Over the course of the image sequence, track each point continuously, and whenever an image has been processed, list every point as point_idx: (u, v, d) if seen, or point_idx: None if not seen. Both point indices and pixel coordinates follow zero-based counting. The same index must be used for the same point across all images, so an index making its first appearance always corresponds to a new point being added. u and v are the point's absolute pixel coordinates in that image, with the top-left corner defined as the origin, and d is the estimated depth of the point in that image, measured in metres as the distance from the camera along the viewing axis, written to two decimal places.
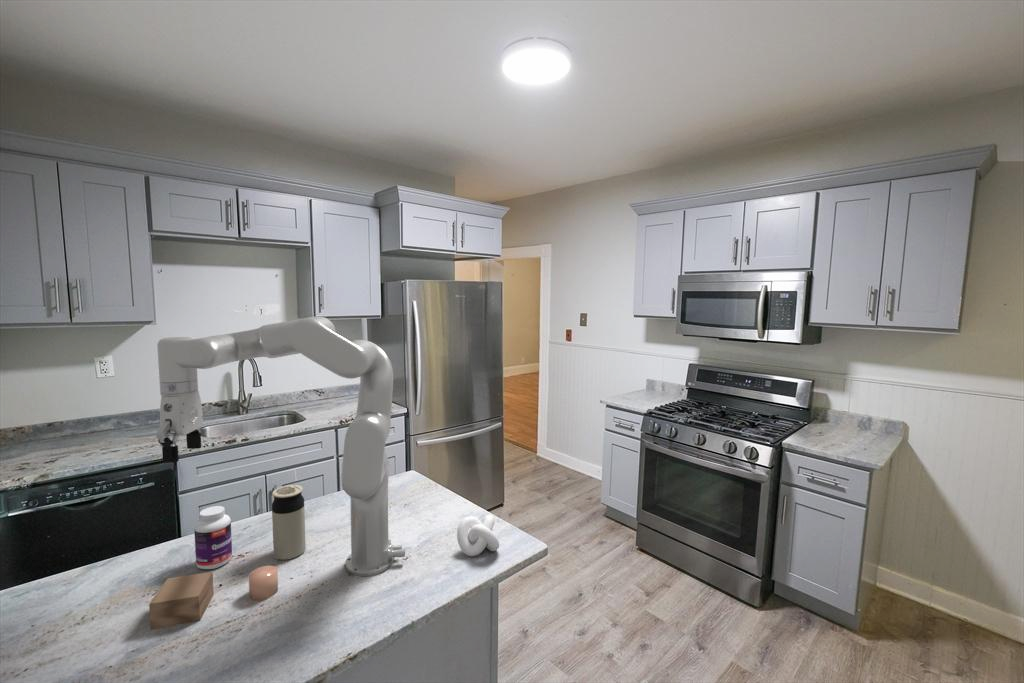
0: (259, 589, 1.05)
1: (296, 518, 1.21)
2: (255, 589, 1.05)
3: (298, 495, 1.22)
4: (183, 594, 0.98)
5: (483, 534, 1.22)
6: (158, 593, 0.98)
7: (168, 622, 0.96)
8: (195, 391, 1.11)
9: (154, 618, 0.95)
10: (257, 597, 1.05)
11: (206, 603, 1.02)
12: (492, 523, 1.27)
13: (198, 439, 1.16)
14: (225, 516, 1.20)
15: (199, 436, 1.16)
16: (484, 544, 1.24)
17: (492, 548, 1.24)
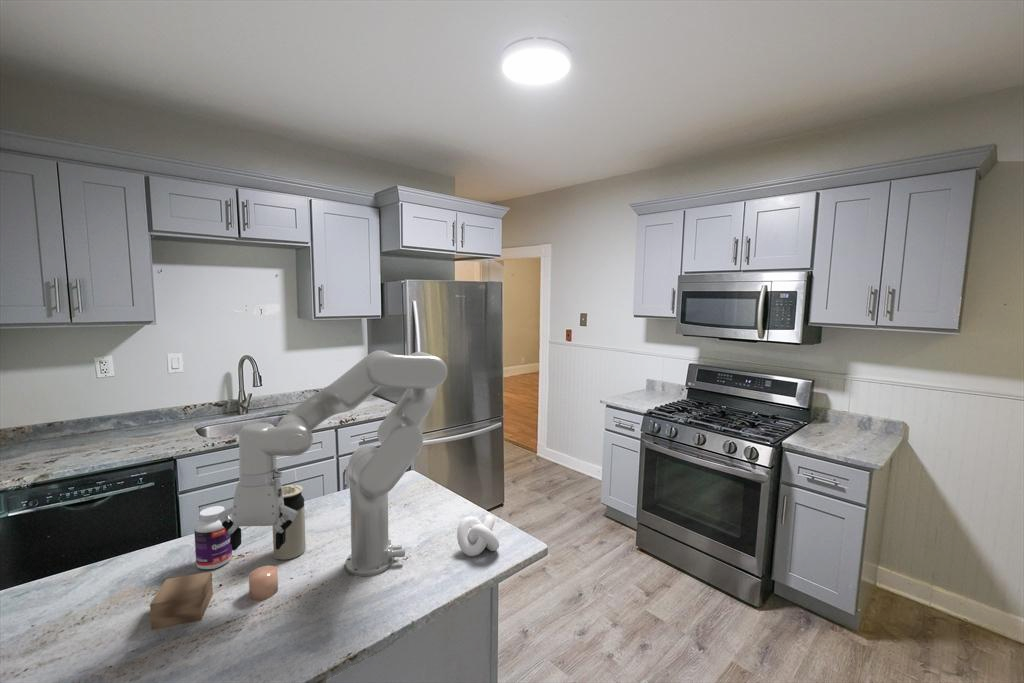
0: (259, 589, 1.05)
1: (296, 518, 1.21)
2: (255, 589, 1.05)
3: (298, 495, 1.22)
4: (184, 593, 0.98)
5: (483, 534, 1.22)
6: (158, 593, 0.98)
7: (169, 622, 0.96)
8: None
9: (155, 618, 0.95)
10: (257, 597, 1.05)
11: (207, 603, 1.02)
12: (492, 523, 1.27)
13: (240, 534, 1.07)
14: None
15: None
16: (484, 544, 1.24)
17: (492, 548, 1.24)
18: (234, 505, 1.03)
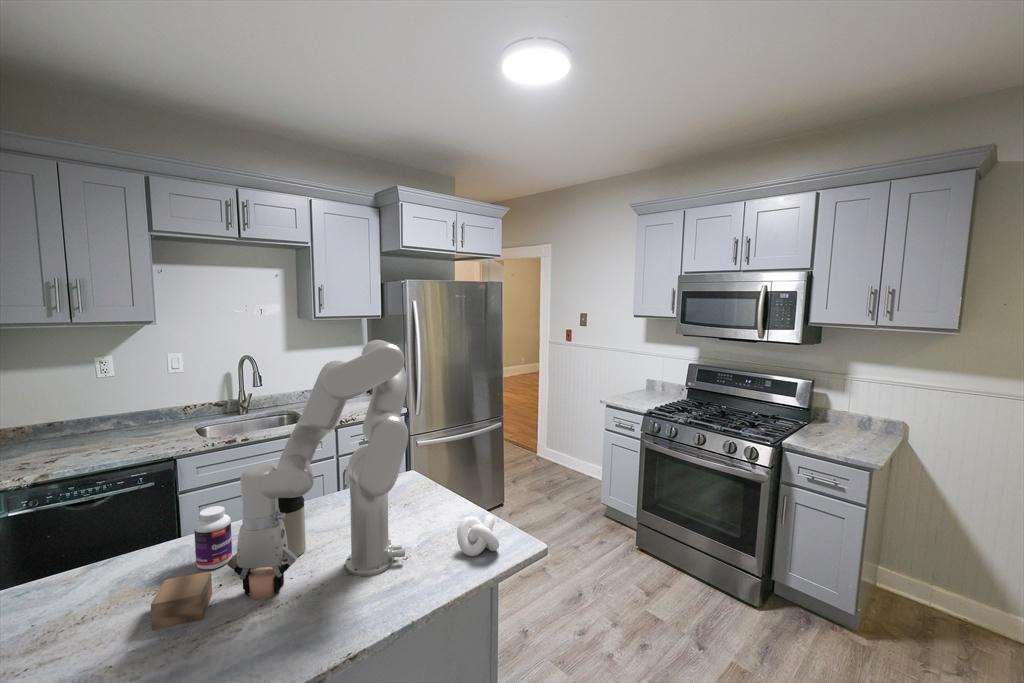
0: (259, 589, 1.05)
1: (296, 518, 1.21)
2: (255, 589, 1.05)
3: None
4: (185, 593, 0.98)
5: (483, 534, 1.22)
6: (158, 594, 0.98)
7: (170, 622, 0.96)
8: None
9: (156, 619, 0.95)
10: (257, 597, 1.05)
11: (207, 602, 1.03)
12: (492, 523, 1.27)
13: None
14: (225, 516, 1.20)
15: None
16: (484, 544, 1.24)
17: (492, 548, 1.24)
18: (238, 548, 1.04)
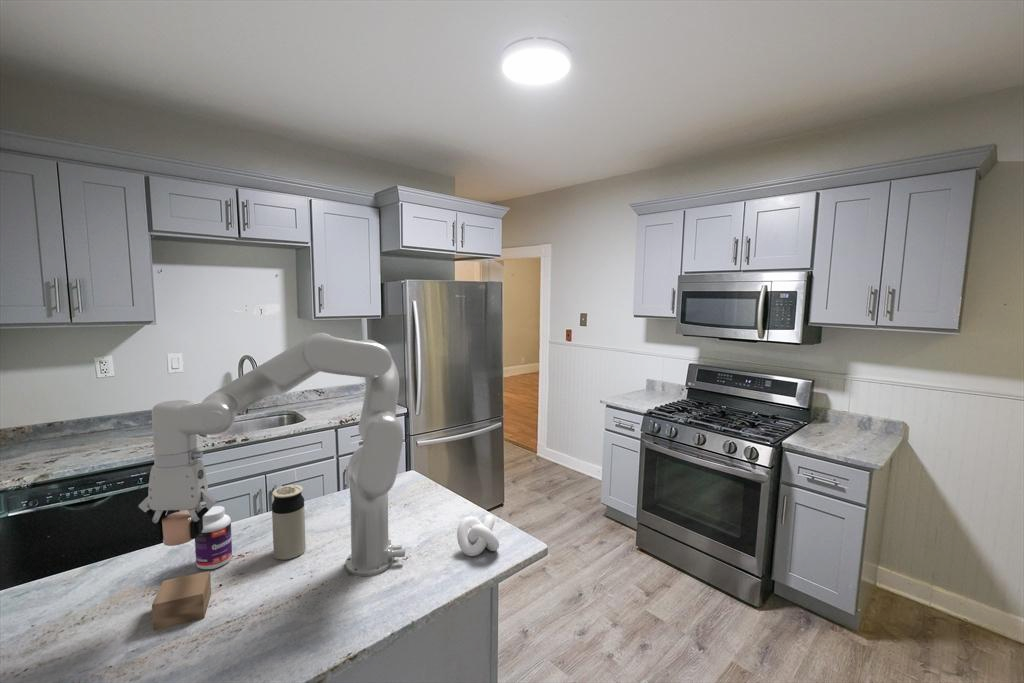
0: (173, 533, 0.96)
1: (296, 518, 1.21)
2: (168, 532, 0.96)
3: (298, 495, 1.22)
4: (186, 593, 0.98)
5: (483, 534, 1.22)
6: (158, 594, 0.98)
7: (171, 622, 0.96)
8: None
9: (157, 619, 0.95)
10: (170, 542, 0.96)
11: (207, 601, 1.03)
12: (492, 523, 1.27)
13: None
14: (225, 516, 1.20)
15: None
16: (484, 544, 1.24)
17: (492, 548, 1.24)
18: (149, 488, 0.96)
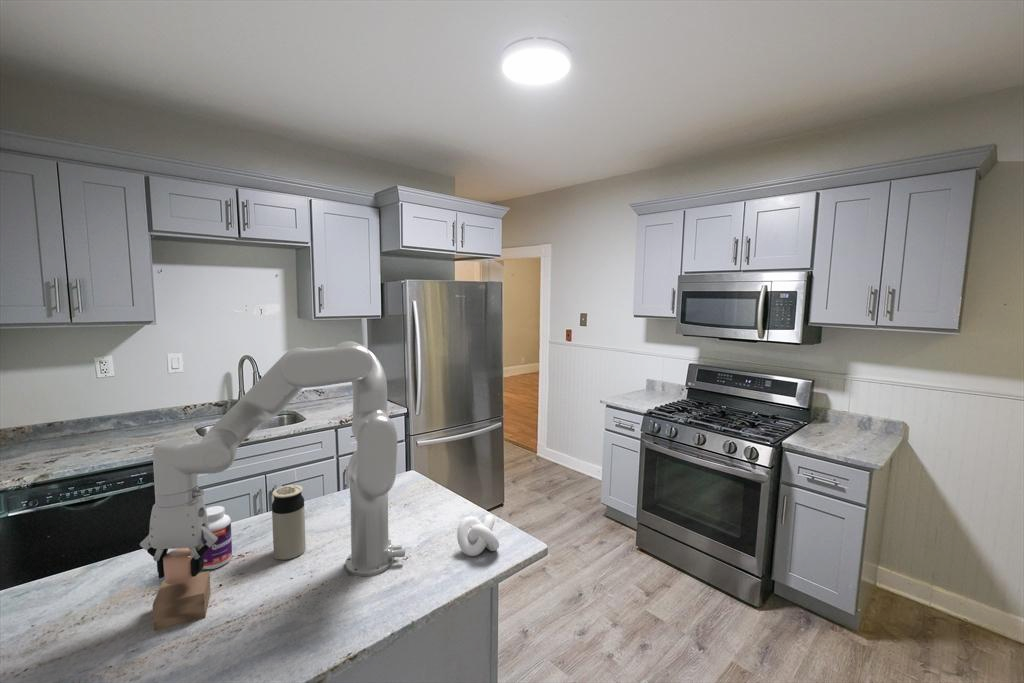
0: (173, 571, 0.97)
1: (296, 518, 1.21)
2: (169, 571, 0.97)
3: (298, 495, 1.22)
4: (186, 592, 0.99)
5: (483, 534, 1.22)
6: (158, 595, 0.98)
7: (172, 622, 0.96)
8: None
9: (157, 619, 0.95)
10: (171, 580, 0.97)
11: (207, 601, 1.03)
12: (492, 523, 1.27)
13: None
14: (225, 516, 1.20)
15: None
16: (484, 544, 1.24)
17: (492, 548, 1.24)
18: (150, 527, 0.96)
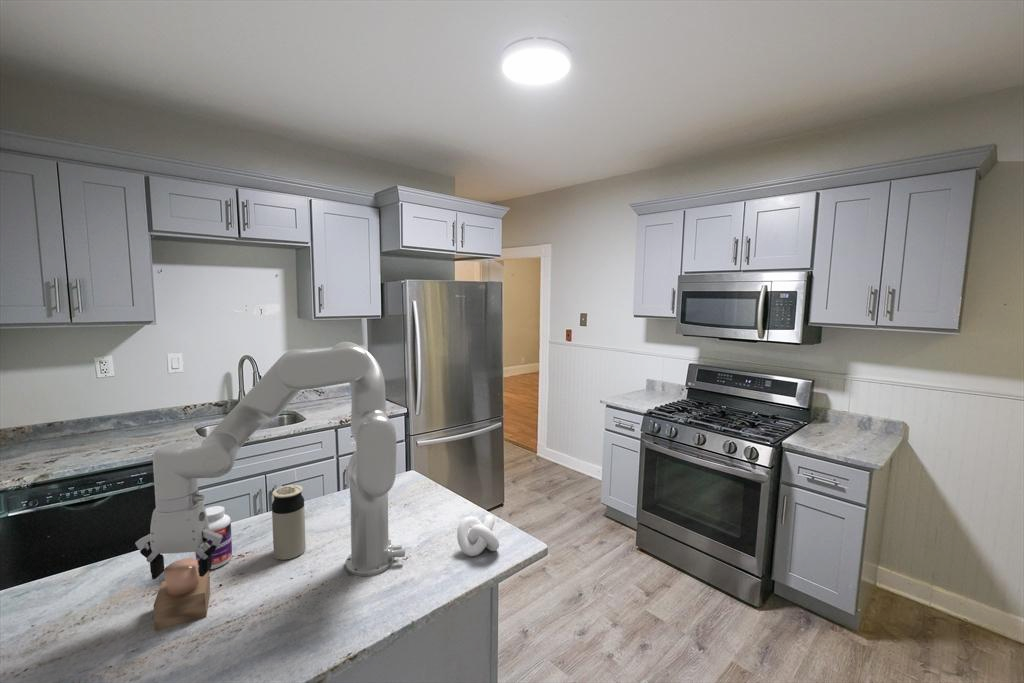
0: (175, 583, 0.97)
1: (296, 518, 1.21)
2: (170, 583, 0.97)
3: (298, 495, 1.22)
4: None
5: (483, 534, 1.22)
6: (158, 595, 0.98)
7: (173, 622, 0.96)
8: None
9: (158, 619, 0.95)
10: (172, 592, 0.97)
11: (208, 601, 1.03)
12: (492, 523, 1.27)
13: (163, 561, 1.01)
14: (225, 516, 1.20)
15: None
16: (484, 544, 1.24)
17: (492, 548, 1.24)
18: (151, 532, 0.97)
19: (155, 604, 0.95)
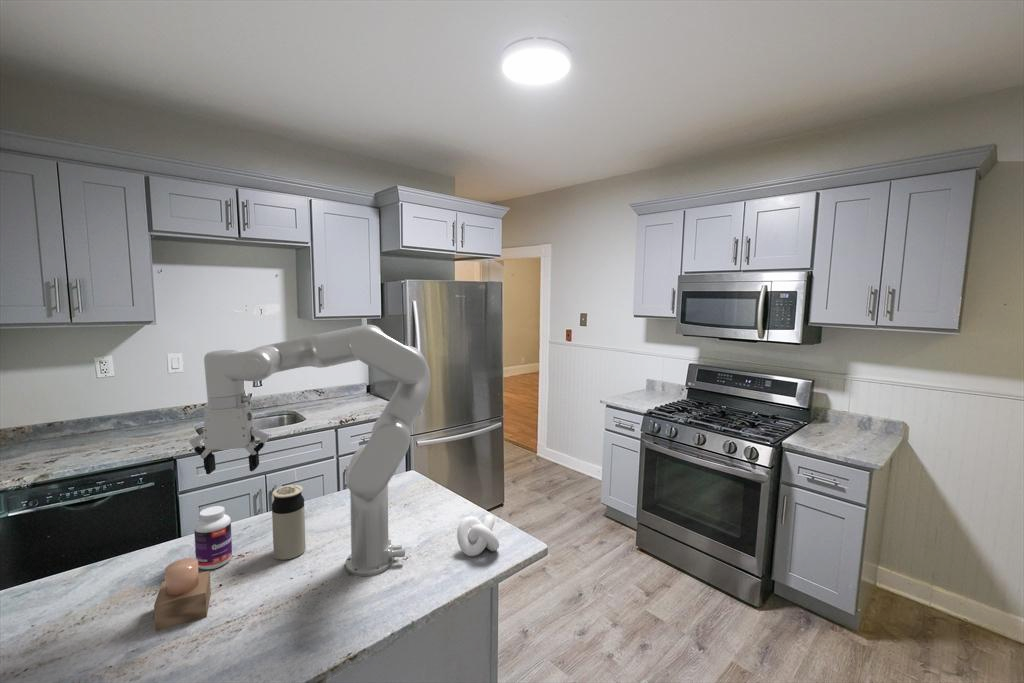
0: (175, 583, 0.97)
1: (296, 518, 1.21)
2: (170, 582, 0.97)
3: (298, 495, 1.22)
4: (187, 592, 0.99)
5: (483, 534, 1.22)
6: (159, 595, 0.98)
7: (174, 622, 0.96)
8: None
9: (159, 619, 0.95)
10: (172, 591, 0.97)
11: (208, 601, 1.03)
12: (492, 523, 1.27)
13: (214, 460, 1.10)
14: (225, 516, 1.20)
15: None
16: (484, 544, 1.24)
17: (492, 548, 1.24)
18: (204, 429, 1.05)
19: (156, 604, 0.95)
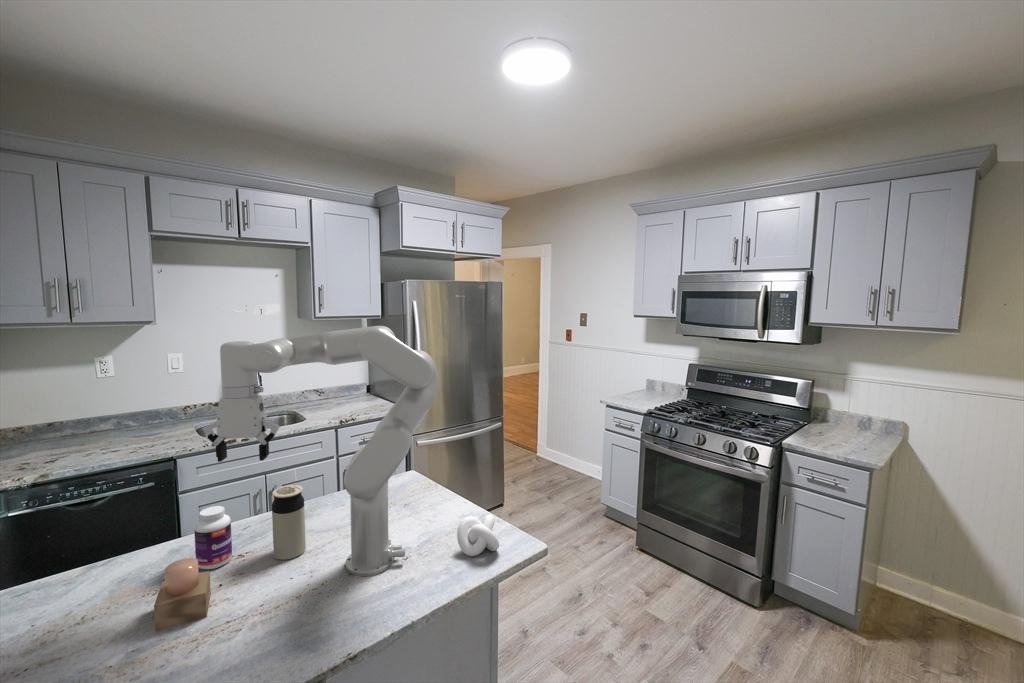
0: (176, 583, 0.97)
1: (296, 518, 1.21)
2: (171, 583, 0.97)
3: (298, 495, 1.22)
4: (187, 593, 0.99)
5: (483, 534, 1.22)
6: (159, 595, 0.97)
7: (174, 622, 0.96)
8: None
9: (159, 620, 0.95)
10: (173, 591, 0.98)
11: (208, 601, 1.03)
12: (492, 523, 1.27)
13: (226, 448, 1.12)
14: (225, 516, 1.20)
15: None
16: (484, 544, 1.24)
17: (492, 548, 1.24)
18: (218, 417, 1.08)
19: (155, 604, 0.95)
